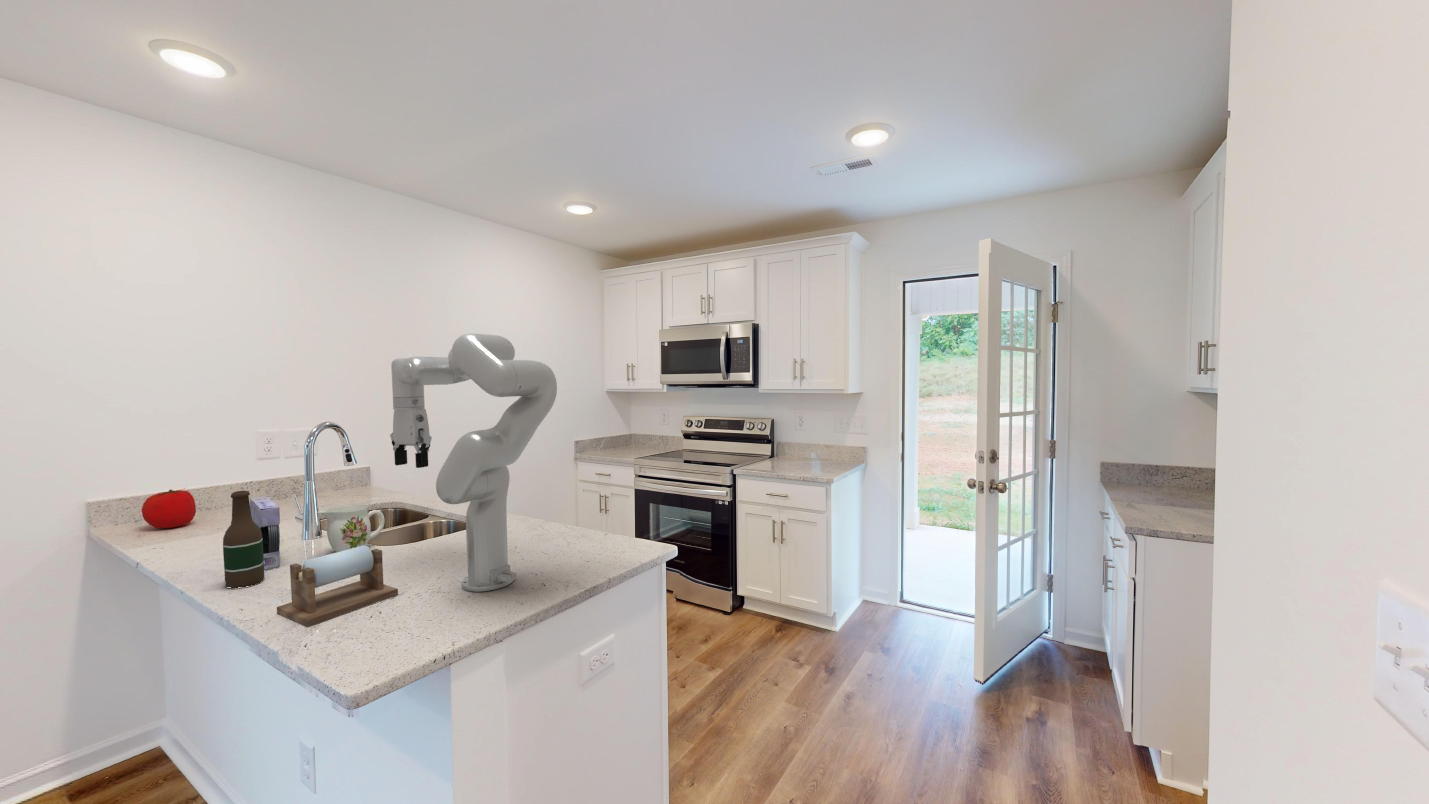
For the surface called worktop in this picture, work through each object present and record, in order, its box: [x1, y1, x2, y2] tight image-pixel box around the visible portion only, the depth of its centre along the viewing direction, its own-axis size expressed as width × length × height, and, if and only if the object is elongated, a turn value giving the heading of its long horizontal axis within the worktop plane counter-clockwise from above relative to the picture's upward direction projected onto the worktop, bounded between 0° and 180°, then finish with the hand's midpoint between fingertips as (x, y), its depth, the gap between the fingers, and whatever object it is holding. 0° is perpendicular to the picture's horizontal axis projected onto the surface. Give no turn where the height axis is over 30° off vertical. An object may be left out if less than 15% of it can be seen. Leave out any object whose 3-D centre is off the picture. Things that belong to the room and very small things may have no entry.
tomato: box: [141, 488, 197, 529], centre depth 195 cm, size 16×14×14 cm
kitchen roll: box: [299, 544, 374, 589], centre depth 125 cm, size 6×15×6 cm, turn 151°
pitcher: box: [316, 504, 385, 553], centre depth 165 cm, size 11×18×14 cm, turn 146°
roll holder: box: [276, 548, 399, 628], centre depth 126 cm, size 14×19×11 cm
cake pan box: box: [249, 496, 281, 571], centre depth 155 cm, size 19×5×18 cm, turn 47°
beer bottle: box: [222, 490, 265, 588], centre depth 139 cm, size 8×8×24 cm
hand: (411, 465), depth 148 cm, fingers open, 9 cm apart
